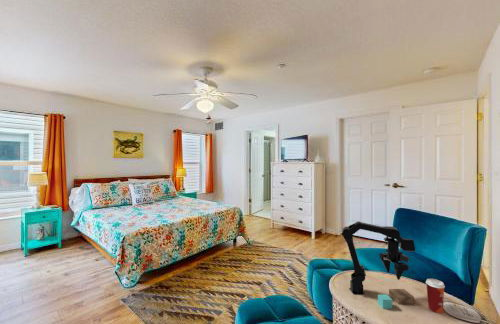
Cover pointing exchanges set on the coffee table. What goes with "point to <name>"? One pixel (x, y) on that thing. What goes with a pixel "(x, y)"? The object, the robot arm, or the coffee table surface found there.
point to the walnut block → (401, 296)
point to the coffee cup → (435, 295)
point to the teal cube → (385, 301)
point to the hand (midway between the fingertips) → (393, 275)
